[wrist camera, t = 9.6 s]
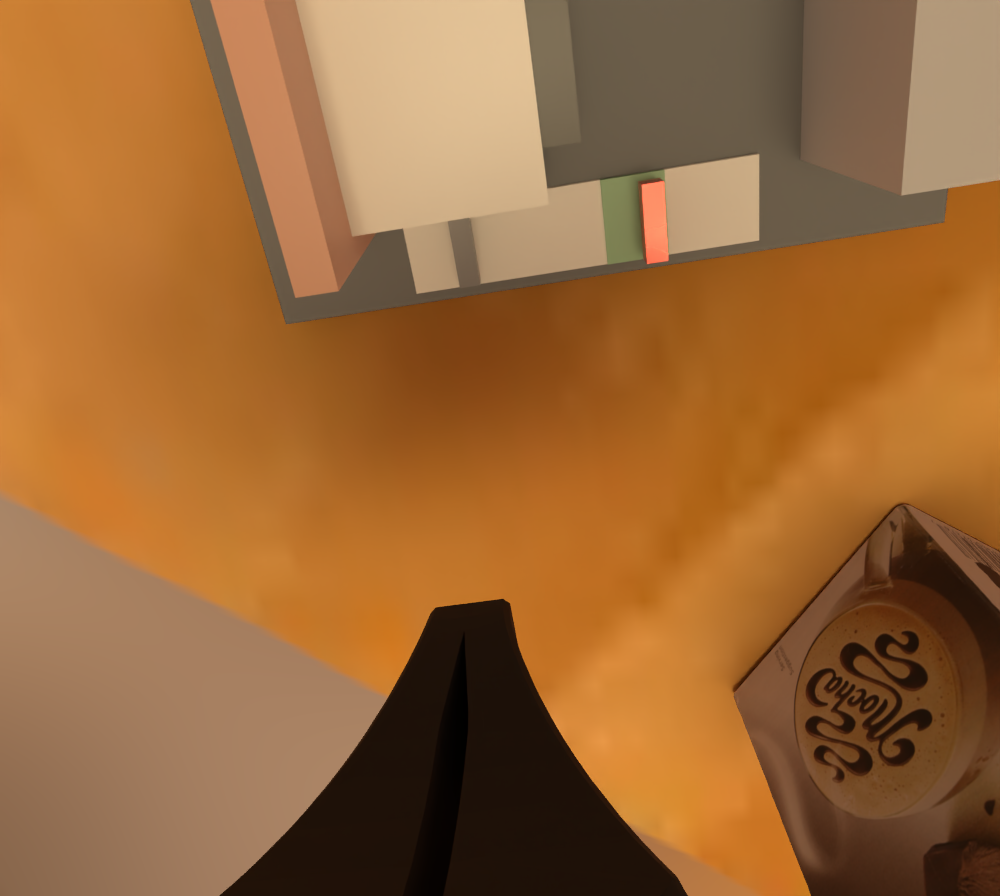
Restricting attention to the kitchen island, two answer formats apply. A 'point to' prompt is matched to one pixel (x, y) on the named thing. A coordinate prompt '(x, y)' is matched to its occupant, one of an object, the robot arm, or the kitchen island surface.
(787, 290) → the kitchen island surface
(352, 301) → the board
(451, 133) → the cream and red block
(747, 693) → the coffee box
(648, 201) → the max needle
